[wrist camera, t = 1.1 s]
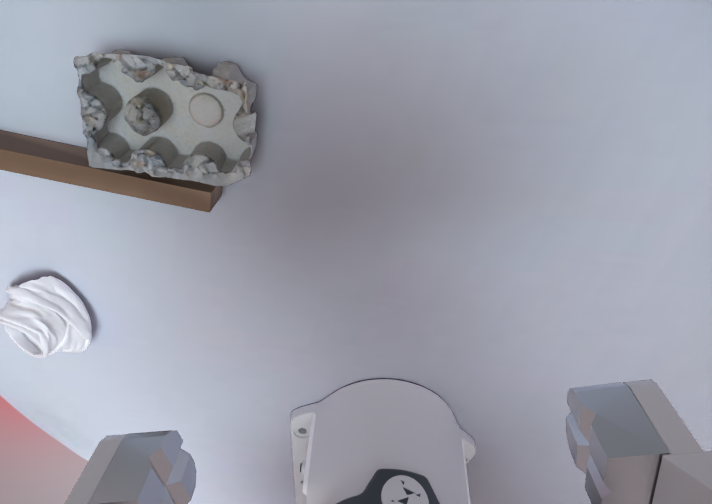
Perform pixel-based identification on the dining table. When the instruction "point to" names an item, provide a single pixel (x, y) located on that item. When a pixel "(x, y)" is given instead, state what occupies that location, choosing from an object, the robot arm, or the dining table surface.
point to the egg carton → (167, 117)
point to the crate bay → (98, 173)
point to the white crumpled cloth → (46, 318)
